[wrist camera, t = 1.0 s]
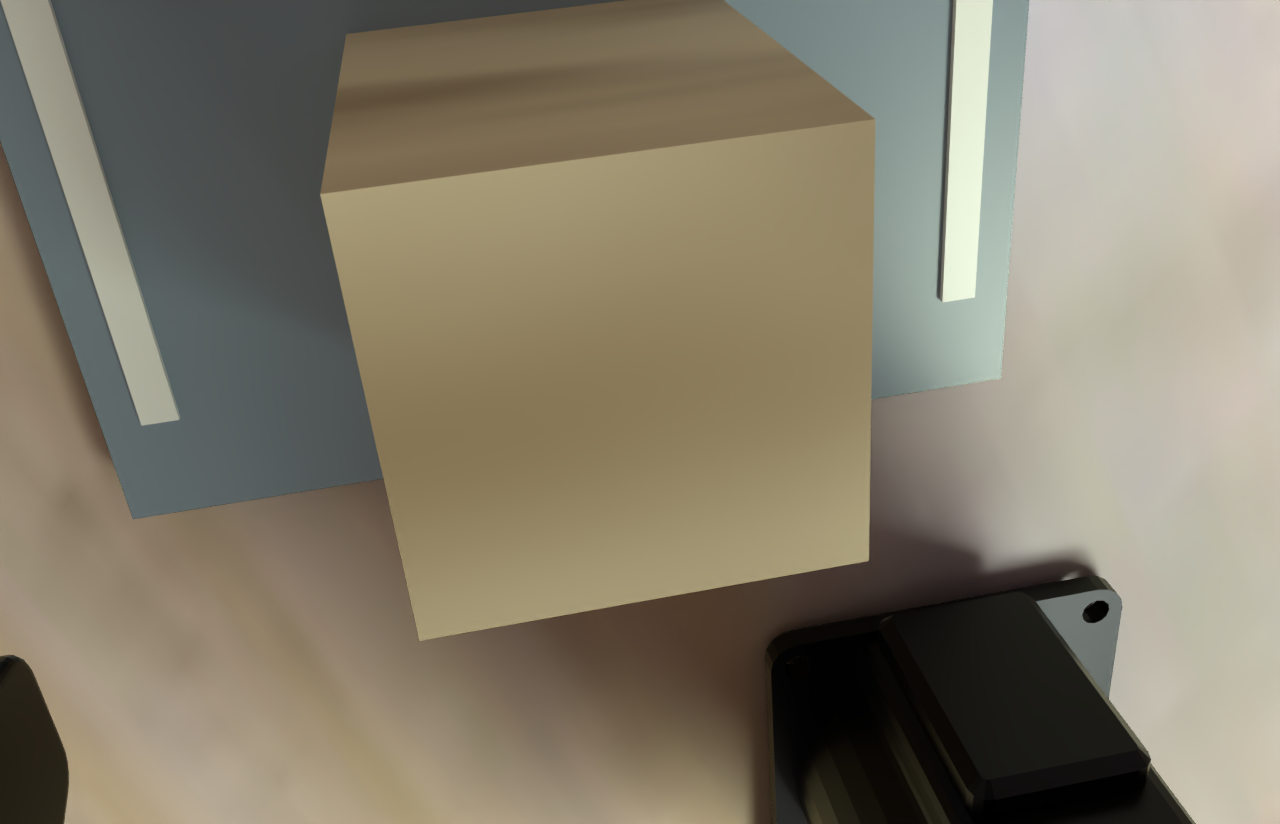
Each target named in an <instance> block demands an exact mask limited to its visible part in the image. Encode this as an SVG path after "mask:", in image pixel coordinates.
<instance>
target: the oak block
mask: <svg viewBox="0 0 1280 824" xmlns="http://www.w3.org/2000/svg"><path fill="white" fill-rule="evenodd" d="M875 120H876V119H875V118H873V117H872V116H871V115H870V114H868V113H867V112H866V111H864V110H863V109H862V108H861V107H859V106H858V105H857V104H855V103H854V102H853V101H852V100H850V99H849V98H848V97H847V96H845V95H844V94H843V93H841V92H840V91H839V90H838V89H836V88H835V87H834V86H832V85H831V84H830V83H829V82H827V81H826V80H825V79H824V78H822V77H821V76H820V75H818V74H817V73H816V72H815V71H813V70H812V69H811V68H809V67H808V66H807V65H806V64H804V63H803V62H802V61H801V60H799V59H798V58H797V57H795V56H794V55H793V54H792V53H790V52H789V51H788V50H787V49H785V48H784V47H783V46H781V45H780V44H779V43H778V42H776V41H775V40H774V39H772V38H771V37H770V36H769V35H767V34H766V33H765V32H764V31H762V30H761V29H760V28H758V27H757V26H756V25H755V24H753V23H752V22H751V21H749V20H748V19H747V18H746V17H744V16H743V15H742V14H741V13H739V12H738V11H737V10H735V9H734V8H733V7H732V6H730V5H729V4H728V3H726V2H725V1H724V0H624V1H616V2H607V3H599V4H591V5H583V6H574V7H566V8H558V9H549V10H541V11H533V12H525V13H516V14H508V15H500V16H491V17H483V18H475V19H467V20H458V21H450V22H442V23H433V24H425V25H417V26H409V27H400V28H392V29H384V30H375V31H367V32H359V33H350V34H346V39H345V45H344V51H343V57H342V64H341V70H340V76H339V82H338V88H337V94H336V100H335V106H334V113H333V119H332V125H331V131H330V137H329V143H328V149H327V156H326V162H325V168H324V174H323V180H322V186H321V192H320V196H321V200H322V205H323V209H324V214H325V218H326V223H327V227H328V232H329V236H330V241H331V245H332V250H333V254H334V259H335V263H336V268H337V272H338V277H339V281H340V286H341V290H342V295H343V299H344V304H345V308H346V313H347V317H348V322H349V326H350V331H351V335H352V340H353V344H354V349H355V353H356V358H357V362H358V367H359V371H360V376H361V380H362V385H363V389H364V394H365V398H366V403H367V407H368V412H369V416H370V421H371V425H372V430H373V434H374V439H375V443H376V448H377V452H378V457H379V461H380V466H381V470H382V475H383V479H384V484H385V488H386V493H387V497H388V502H389V506H390V511H391V515H392V520H393V524H394V529H395V533H396V538H397V542H398V547H399V551H400V556H401V560H402V565H403V569H404V574H405V578H406V583H407V587H408V592H409V596H410V601H411V605H412V610H413V614H414V619H415V623H416V628H417V632H418V637H419V641H422V640H427V639H433V638H439V637H444V636H450V635H456V634H461V633H467V632H472V631H478V630H484V629H489V628H495V627H501V626H506V625H512V624H517V623H523V622H529V621H534V620H540V619H546V618H551V617H557V616H562V615H568V614H574V613H579V612H585V611H591V610H596V609H602V608H607V607H613V606H619V605H624V604H630V603H636V602H641V601H647V600H652V599H658V598H664V597H669V596H675V595H681V594H686V593H692V592H697V591H703V590H709V589H714V588H720V587H726V586H731V585H737V584H742V583H748V582H754V581H759V580H765V579H771V578H776V577H782V576H787V575H793V574H799V573H804V572H810V571H816V570H821V569H827V568H832V567H838V566H844V565H849V564H855V563H861V562H866V561H869V522H870V455H871V388H872V321H873V254H874V187H875Z"/></svg>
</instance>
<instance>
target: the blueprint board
mask: <svg viewBox="0 0 1280 824" xmlns="http://www.w3.org/2000/svg"><path fill="white" fill-rule="evenodd" d="M616 1H624V0H0V142H1V145H2V147H3V150H4V153H5V156H6V159H7V162H8V165H9V167H10V170H11V173H12V176H13V179H14V182H15V184H16V187H17V190H18V193H19V196H20V199H21V202H22V204H23V207H24V210H25V213H26V216H27V219H28V221H29V224H30V227H31V230H32V233H33V236H34V239H35V241H36V244H37V247H38V250H39V253H40V256H41V258H42V261H43V264H44V267H45V270H46V273H47V276H48V278H49V281H50V284H51V287H52V290H53V293H54V295H55V298H56V301H57V304H58V307H59V310H60V313H61V315H62V318H63V321H64V324H65V327H66V330H67V333H68V335H69V338H70V341H71V344H72V347H73V350H74V352H75V355H76V358H77V361H78V364H79V367H80V370H81V372H82V375H83V378H84V381H85V384H86V387H87V389H88V392H89V395H90V398H91V401H92V404H93V407H94V409H95V412H96V415H97V418H98V421H99V424H100V426H101V429H102V432H103V435H104V438H105V441H106V444H107V446H108V449H109V452H110V455H111V458H112V461H113V464H114V466H115V469H116V472H117V475H118V478H119V481H120V483H121V486H122V489H123V492H124V495H125V498H126V501H127V503H128V506H129V509H130V512H131V515H132V518H133V519H138V518H144V517H150V516H156V515H162V514H168V513H175V512H181V511H187V510H193V509H199V508H205V507H212V506H218V505H224V504H230V503H236V502H243V501H249V500H255V499H261V498H267V497H273V496H280V495H286V494H292V493H298V492H304V491H310V490H317V489H323V488H329V487H335V486H341V485H347V484H354V483H360V482H366V481H372V480H378V479H383V475H382V470H381V466H380V461H379V457H378V452H377V448H376V443H375V439H374V434H373V430H372V425H371V421H370V416H369V412H368V407H367V403H366V398H365V394H364V389H363V385H362V380H361V376H360V371H359V367H358V362H357V358H356V353H355V349H354V344H353V340H352V335H351V331H350V326H349V322H348V317H347V313H346V308H345V304H344V299H343V295H342V290H341V286H340V281H339V277H338V272H337V268H336V263H335V259H334V254H333V250H332V245H331V241H330V236H329V232H328V227H327V223H326V218H325V214H324V209H323V205H322V200H321V196H320V192H321V186H322V180H323V174H324V168H325V162H326V156H327V149H328V143H329V137H330V131H331V125H332V119H333V113H334V106H335V100H336V94H337V88H338V82H339V76H340V70H341V64H342V57H343V51H344V45H345V39H346V34H350V33H359V32H367V31H375V30H384V29H392V28H400V27H409V26H417V25H425V24H433V23H442V22H450V21H458V20H467V19H475V18H483V17H491V16H500V15H508V14H516V13H525V12H533V11H541V10H549V9H558V8H566V7H574V6H583V5H591V4H599V3H607V2H616ZM724 1H725V2H726V3H728V4H729V5H730V6H732V7H733V8H734V9H735V10H737V11H738V12H739V13H741V14H742V15H743V16H744V17H746V18H747V19H748V20H749V21H751V22H752V23H753V24H755V25H756V26H757V27H758V28H760V29H761V30H762V31H764V32H765V33H766V34H767V35H769V36H770V37H771V38H772V39H774V40H775V41H776V42H778V43H779V44H780V45H781V46H783V47H784V48H785V49H787V50H788V51H789V52H790V53H792V54H793V55H794V56H795V57H797V58H798V59H799V60H801V61H802V62H803V63H804V64H806V65H807V66H808V67H809V68H811V69H812V70H813V71H815V72H816V73H817V74H818V75H820V76H821V77H822V78H824V79H825V80H826V81H827V82H829V83H830V84H831V85H832V86H834V87H835V88H836V89H838V90H839V91H840V92H841V93H843V94H844V95H845V96H847V97H848V98H849V99H850V100H852V101H853V102H854V103H855V104H857V105H858V106H859V107H861V108H862V109H863V110H864V111H866V112H867V113H868V114H870V115H871V116H872V117H873V118H875V119H876V120H875V187H874V254H873V321H872V388H871V400H872V399H878V398H884V397H890V396H896V395H902V394H909V393H915V392H921V391H927V390H933V389H939V388H946V387H952V386H958V385H964V384H970V383H976V382H983V381H989V380H995V379H1001V370H1002V356H1003V343H1004V330H1005V316H1006V303H1007V290H1008V276H1009V263H1010V250H1011V236H1012V223H1013V210H1014V196H1015V183H1016V170H1017V156H1018V143H1019V130H1020V116H1021V103H1022V90H1023V76H1024V63H1025V50H1026V36H1027V23H1028V10H1029V0H724Z"/></svg>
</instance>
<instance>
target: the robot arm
mask: <svg viewBox="0 0 1280 824" xmlns="http://www.w3.org/2000/svg"><path fill="white" fill-rule="evenodd" d="M1095 601H1096V602H1095ZM1092 602H1095V603H1094V604H1093V605H1092V606H1091V607H1089V608H1086V607H1087V606H1088V605H1089V604H1090V603H1092ZM1085 608H1086V609H1085ZM1121 610H1122V602H1121V598H1120V597H1119V595H1118V594H1117V593H1116V592H1115V590H1114V589H1113V588H1112V587H1111V586H1110V585H1109V583H1108V582H1107V581H1106V580H1105V579H1103V578H1100V577H1098V576H1087V577H1082V578H1076V579H1071V580H1065V581H1060V582H1054V583H1049V584H1043V585H1038V586H1032V587H1027V588H1021V589H1016V590H1011V591H1005V592H1000V593H994V594H989V595H983V596H978V597H972V598H967V599H961V600H956V601H950V602H945V603H940V604H934V605H929V606H923V607H918V608H912V609H907V610H901V611H896V612H890V613H885V614H879V615H874V616H869V617H863V618H858V619H852V620H847V621H841V622H836V623H830V624H825V625H819V626H814V627H808V628H803V629H798V630H792V631H789V632H786V633H783V634H781V635H779V636H778V637H777V638H775V639H774V640H773V641H772V642H771V643H770V645H769V646H768V648H767V650H766V655H765V672H766V697H767V723H768V748H769V773H770V798H771V823H772V824H1195V822H1194V821H1193V820H1192V818H1191V817H1190V816H1189V814H1188V813H1187V811H1186V810H1185V809H1184V807H1183V806H1182V805H1181V803H1180V802H1179V801H1178V799H1177V798H1176V797H1175V795H1174V794H1173V793H1172V791H1171V790H1170V789H1169V787H1168V786H1167V784H1166V783H1165V782H1164V780H1163V779H1162V778H1161V776H1160V775H1159V774H1158V772H1157V771H1156V770H1155V768H1154V767H1153V766H1152V764H1151V763H1150V762H1151V758H1150V756H1149V753H1148V751H1147V750H1146V748H1145V747H1144V746H1143V744H1142V743H1141V742H1140V740H1139V739H1138V738H1137V736H1136V735H1135V734H1134V732H1133V731H1132V730H1131V728H1130V727H1129V726H1128V724H1127V723H1126V722H1125V720H1124V719H1123V718H1122V716H1121V715H1120V714H1119V712H1118V711H1117V710H1116V708H1115V707H1114V706H1113V704H1112V703H1111V702H1110V700H1109V692H1110V685H1111V678H1112V672H1113V665H1114V658H1115V651H1116V644H1117V638H1118V631H1119V624H1120V617H1121ZM797 656H804V657H803V658H802V659H801V660H800V661H798V662H796V663H793V664H787V663H788V662H789V661H790V660H791V659H792V658H795V657H797ZM68 788H69V770H68V762H67V757H66V752H65V750H64V747H63V744H62V742H61V739H60V737H59V734H58V732H57V729H56V727H55V725H54V722H53V720H52V717H51V715H50V712H49V710H48V707H47V705H46V703H45V700H44V698H43V695H42V693H41V690H40V688H39V686H38V683H37V681H36V678H35V676H34V674H33V672H32V670H31V668H30V667H29V665H28V664H27V663H26V662H25V661H24V660H23V659H21V658H19V657H16V656H14V655H5V656H0V824H64V820H65V812H66V805H67V797H68Z"/></svg>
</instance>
